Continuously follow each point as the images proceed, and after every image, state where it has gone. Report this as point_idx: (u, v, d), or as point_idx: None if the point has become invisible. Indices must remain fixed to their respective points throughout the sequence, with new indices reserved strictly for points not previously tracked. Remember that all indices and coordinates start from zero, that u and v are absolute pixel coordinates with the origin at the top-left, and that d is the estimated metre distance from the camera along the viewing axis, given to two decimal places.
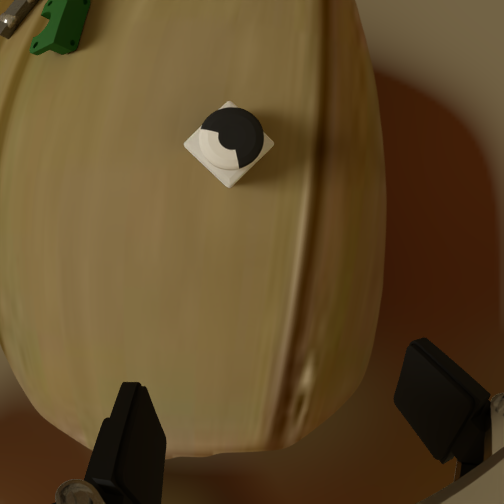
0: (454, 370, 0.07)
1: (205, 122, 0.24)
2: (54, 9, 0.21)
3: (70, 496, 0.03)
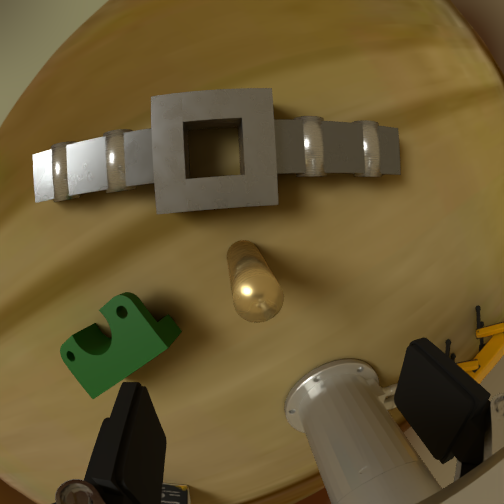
0: (454, 370, 0.07)
1: None
2: (119, 343, 0.22)
3: (70, 496, 0.03)
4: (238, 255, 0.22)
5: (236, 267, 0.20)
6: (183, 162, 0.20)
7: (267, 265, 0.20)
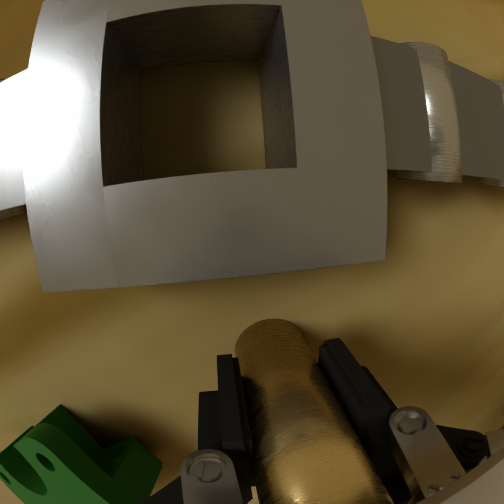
0: (356, 374, 0.07)
1: None
2: (58, 495, 0.07)
3: (198, 468, 0.05)
4: (272, 399, 0.07)
5: (275, 468, 0.05)
6: (96, 133, 0.05)
7: (357, 439, 0.06)
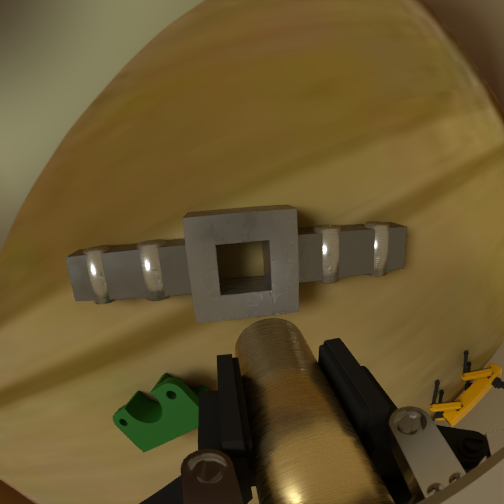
0: (356, 374, 0.07)
1: None
2: (169, 416, 0.26)
3: (197, 468, 0.05)
4: (272, 399, 0.07)
5: (275, 468, 0.05)
6: (218, 281, 0.24)
7: (358, 439, 0.06)
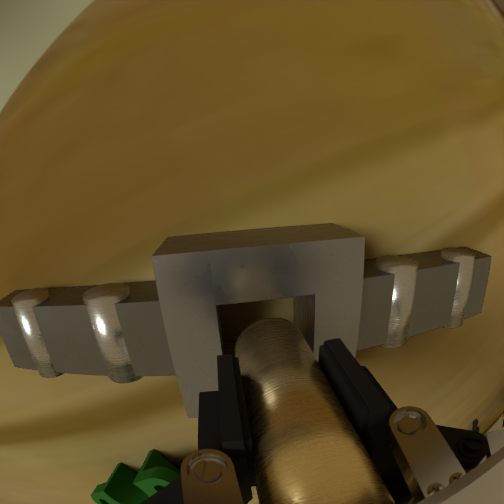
0: (356, 374, 0.07)
1: None
2: None
3: (198, 468, 0.05)
4: (272, 398, 0.07)
5: (275, 467, 0.05)
6: None
7: (358, 438, 0.06)
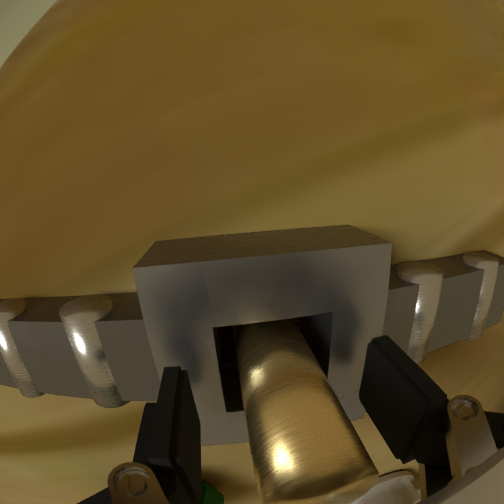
0: (411, 368, 0.07)
1: None
2: None
3: (123, 480, 0.04)
4: (259, 349, 0.10)
5: (260, 397, 0.08)
6: (220, 392, 0.11)
7: (327, 381, 0.08)
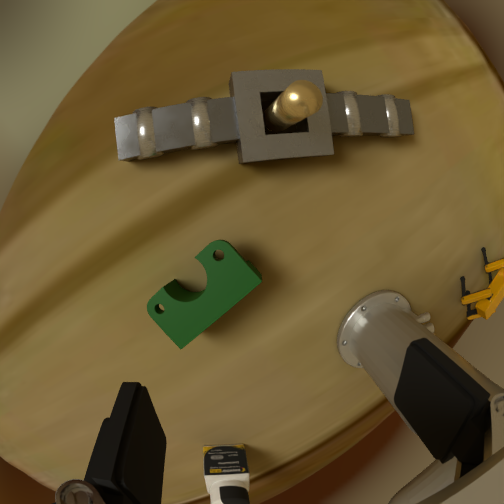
0: (454, 370, 0.07)
1: (225, 500, 0.30)
2: (214, 285, 0.28)
3: (70, 496, 0.03)
4: None
5: None
6: (262, 122, 0.25)
7: None
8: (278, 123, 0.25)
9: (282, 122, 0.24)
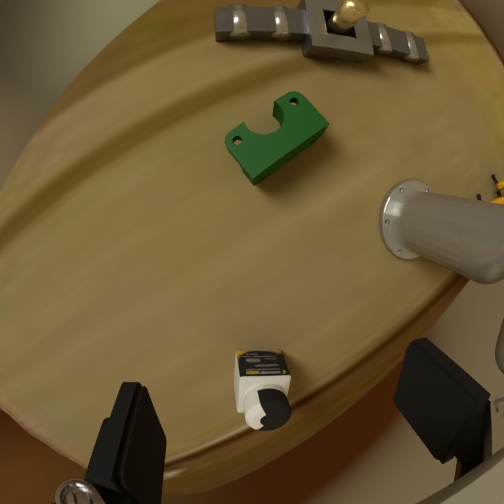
0: (454, 370, 0.07)
1: (266, 403, 0.32)
2: (290, 122, 0.30)
3: (70, 496, 0.03)
4: None
5: (339, 7, 0.25)
6: (325, 25, 0.28)
7: None
8: (336, 28, 0.28)
9: (340, 25, 0.27)
